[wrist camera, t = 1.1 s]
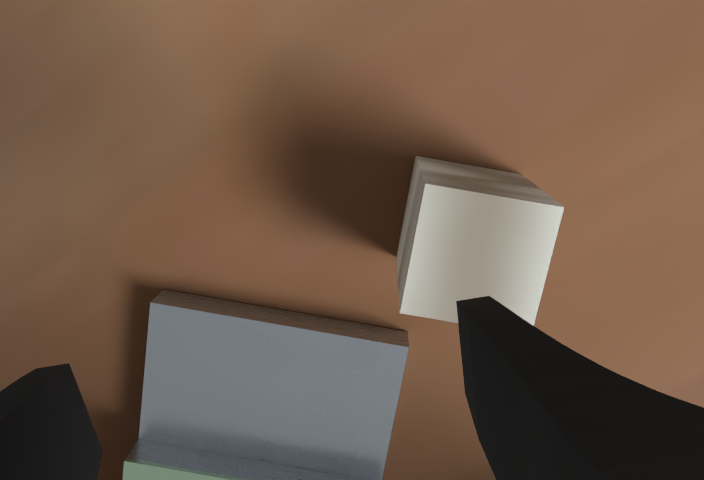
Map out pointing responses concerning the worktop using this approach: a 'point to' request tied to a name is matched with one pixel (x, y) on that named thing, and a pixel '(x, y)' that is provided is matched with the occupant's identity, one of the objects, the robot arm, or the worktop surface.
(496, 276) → the column block
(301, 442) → the stepped stand
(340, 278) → the worktop surface
